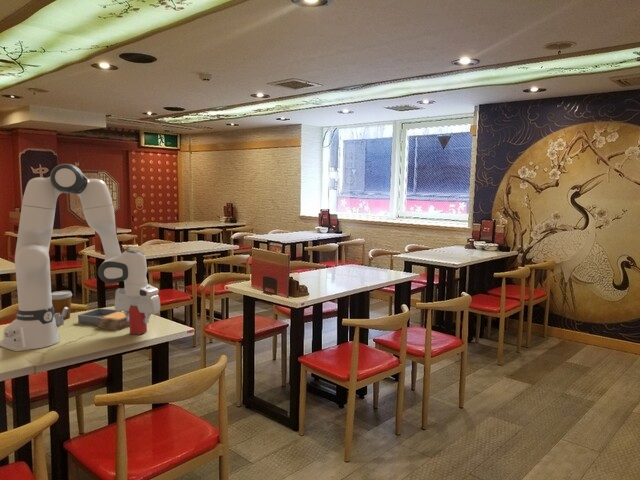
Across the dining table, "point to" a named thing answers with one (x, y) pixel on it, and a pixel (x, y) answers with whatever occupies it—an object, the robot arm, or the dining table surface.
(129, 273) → the robot arm
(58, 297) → the disposable coffee cup
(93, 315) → the tray
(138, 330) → the beer can
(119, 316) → the orange square panel
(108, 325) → the checker stand
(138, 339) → the dining table surface
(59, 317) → the lighter
